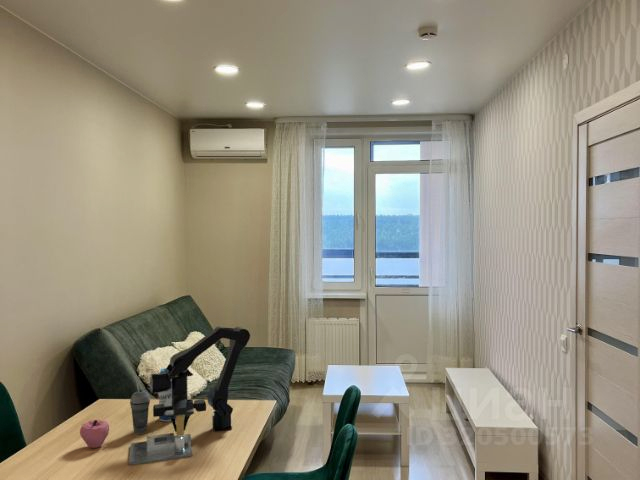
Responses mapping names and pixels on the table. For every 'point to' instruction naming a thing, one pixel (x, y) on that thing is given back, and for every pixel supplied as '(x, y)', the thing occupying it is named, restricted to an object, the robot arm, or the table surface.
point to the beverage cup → (140, 410)
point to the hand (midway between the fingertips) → (180, 430)
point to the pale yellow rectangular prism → (179, 425)
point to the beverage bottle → (165, 400)
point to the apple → (94, 432)
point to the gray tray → (160, 448)
